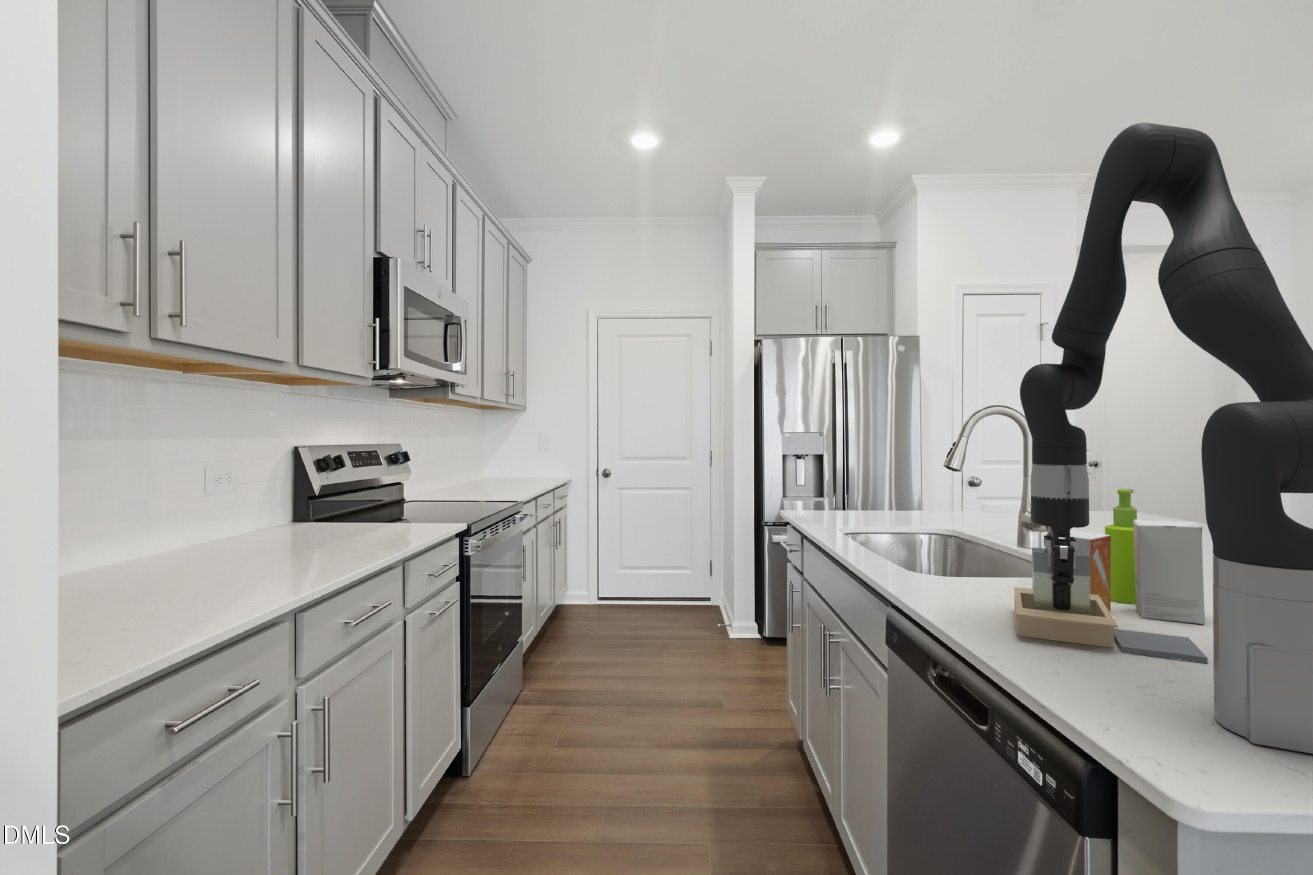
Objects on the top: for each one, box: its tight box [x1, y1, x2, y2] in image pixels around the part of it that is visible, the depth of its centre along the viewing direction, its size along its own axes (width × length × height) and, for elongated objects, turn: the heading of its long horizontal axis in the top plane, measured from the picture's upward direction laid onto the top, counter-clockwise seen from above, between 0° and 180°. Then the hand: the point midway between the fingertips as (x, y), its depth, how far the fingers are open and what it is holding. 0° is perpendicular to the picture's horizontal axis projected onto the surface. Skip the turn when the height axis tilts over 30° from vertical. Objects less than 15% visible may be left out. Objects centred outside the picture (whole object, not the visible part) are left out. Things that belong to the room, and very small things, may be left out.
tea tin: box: [1031, 547, 1090, 616], centre depth 93 cm, size 5×7×12 cm, turn 61°
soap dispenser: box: [1104, 488, 1138, 605], centre depth 110 cm, size 6×7×20 cm
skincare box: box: [1133, 519, 1206, 625], centre depth 100 cm, size 8×7×16 cm
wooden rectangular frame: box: [1013, 586, 1119, 649], centre depth 94 cm, size 18×12×4 cm, turn 151°
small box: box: [1070, 530, 1112, 612], centre depth 104 cm, size 8×6×13 cm
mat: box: [1114, 628, 1209, 665], centre depth 86 cm, size 9×9×1 cm
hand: (1060, 604), depth 94 cm, fingers closed on tea tin, 4 cm apart
